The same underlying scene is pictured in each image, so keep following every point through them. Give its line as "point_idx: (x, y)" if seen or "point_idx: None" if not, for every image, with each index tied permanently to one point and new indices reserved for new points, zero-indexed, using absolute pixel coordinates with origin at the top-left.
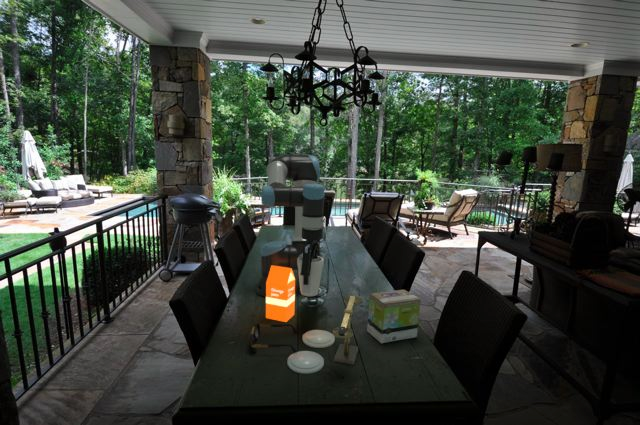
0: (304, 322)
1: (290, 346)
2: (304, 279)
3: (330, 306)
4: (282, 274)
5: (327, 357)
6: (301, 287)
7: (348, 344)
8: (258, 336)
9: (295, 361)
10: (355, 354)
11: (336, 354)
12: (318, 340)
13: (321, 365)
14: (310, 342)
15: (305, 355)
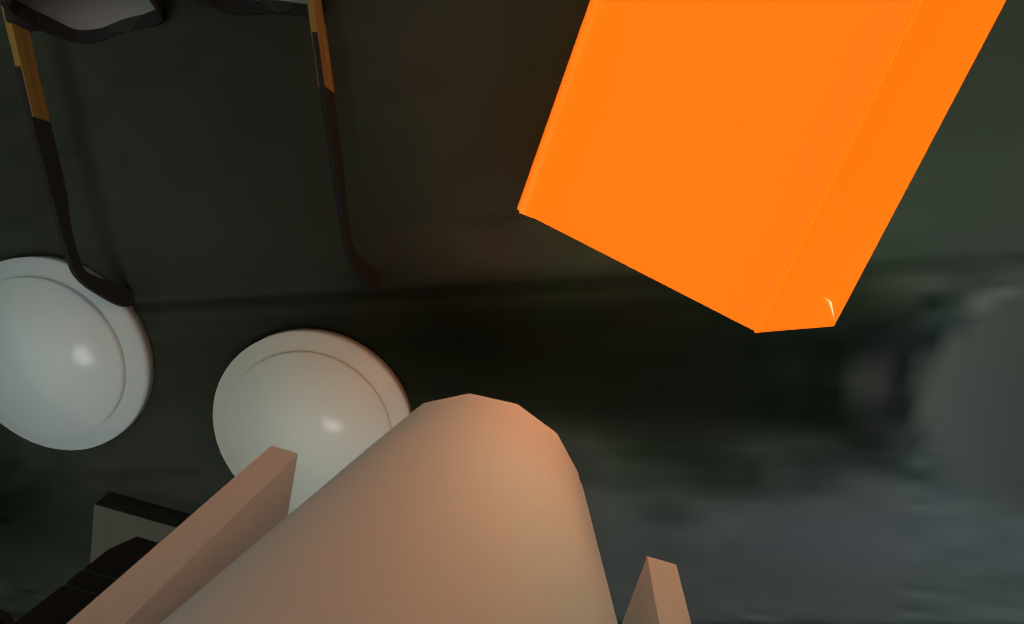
0: (548, 333)
1: (79, 272)
2: (36, 618)
3: (846, 525)
4: (695, 92)
5: (140, 463)
6: (372, 445)
7: None
8: (293, 11)
9: (4, 305)
10: None
11: (128, 518)
12: (255, 431)
13: (26, 437)
14: (239, 382)
15: (77, 357)
